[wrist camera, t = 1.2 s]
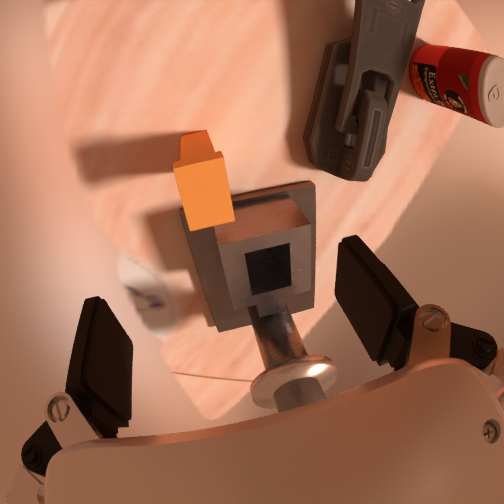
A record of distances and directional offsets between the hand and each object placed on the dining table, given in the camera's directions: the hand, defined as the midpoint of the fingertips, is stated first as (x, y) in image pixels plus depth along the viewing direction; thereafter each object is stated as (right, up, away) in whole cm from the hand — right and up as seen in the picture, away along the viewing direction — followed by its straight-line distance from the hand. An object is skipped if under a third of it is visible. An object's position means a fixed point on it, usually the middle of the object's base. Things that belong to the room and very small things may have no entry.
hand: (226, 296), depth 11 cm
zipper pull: (+11, +21, +12) cm, 27 cm away
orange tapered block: (-4, +11, +15) cm, 19 cm away
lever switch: (+2, 0, +24) cm, 24 cm away
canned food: (+22, +23, +13) cm, 35 cm away
